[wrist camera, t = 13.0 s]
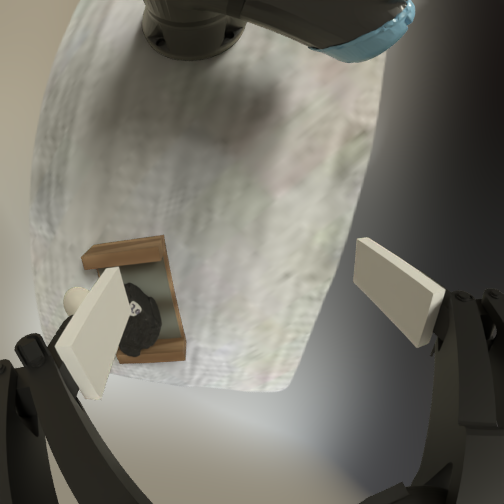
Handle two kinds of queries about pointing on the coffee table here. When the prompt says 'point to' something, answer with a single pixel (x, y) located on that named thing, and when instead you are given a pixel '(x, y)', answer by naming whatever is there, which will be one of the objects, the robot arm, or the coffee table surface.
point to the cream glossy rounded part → (74, 299)
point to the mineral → (140, 322)
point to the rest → (145, 290)
